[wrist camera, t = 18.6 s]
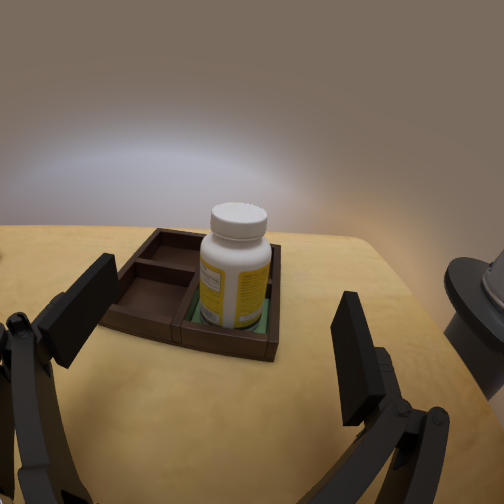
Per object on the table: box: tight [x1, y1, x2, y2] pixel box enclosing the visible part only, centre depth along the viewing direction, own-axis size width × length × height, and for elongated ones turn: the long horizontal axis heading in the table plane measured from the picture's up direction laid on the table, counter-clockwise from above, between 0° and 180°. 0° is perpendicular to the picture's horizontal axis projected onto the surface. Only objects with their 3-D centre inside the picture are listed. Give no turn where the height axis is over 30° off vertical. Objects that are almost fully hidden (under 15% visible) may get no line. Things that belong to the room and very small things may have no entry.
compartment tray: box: [98, 228, 281, 362], centre depth 27 cm, size 16×16×2 cm
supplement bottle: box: [200, 202, 272, 331], centre depth 22 cm, size 5×5×10 cm
